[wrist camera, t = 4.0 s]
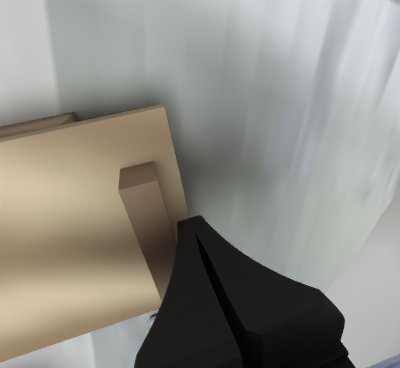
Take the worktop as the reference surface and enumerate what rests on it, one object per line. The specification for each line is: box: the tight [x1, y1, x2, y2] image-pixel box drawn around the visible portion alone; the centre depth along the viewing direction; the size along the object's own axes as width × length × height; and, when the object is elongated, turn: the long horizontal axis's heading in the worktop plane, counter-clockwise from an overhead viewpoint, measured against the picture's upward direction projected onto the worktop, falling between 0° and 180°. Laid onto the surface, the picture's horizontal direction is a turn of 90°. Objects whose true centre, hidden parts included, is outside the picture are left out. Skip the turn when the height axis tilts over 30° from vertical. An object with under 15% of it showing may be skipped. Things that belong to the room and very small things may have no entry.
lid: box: [0, 104, 190, 362], centre depth 11 cm, size 12×15×3 cm
